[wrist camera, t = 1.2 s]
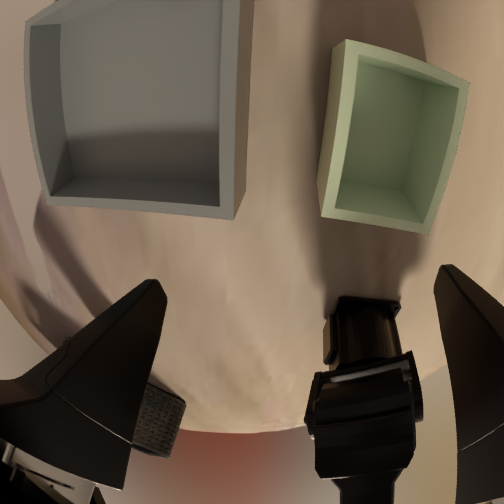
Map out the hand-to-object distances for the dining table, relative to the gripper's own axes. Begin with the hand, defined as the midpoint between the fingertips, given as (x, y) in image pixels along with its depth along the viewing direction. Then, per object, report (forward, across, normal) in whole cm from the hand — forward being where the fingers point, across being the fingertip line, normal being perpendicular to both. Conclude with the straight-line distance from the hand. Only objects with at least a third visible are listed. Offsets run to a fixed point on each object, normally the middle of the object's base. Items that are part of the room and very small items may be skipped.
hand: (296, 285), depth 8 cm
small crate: (+12, -5, -2) cm, 13 cm away
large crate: (+12, +10, -8) cm, 17 cm away
